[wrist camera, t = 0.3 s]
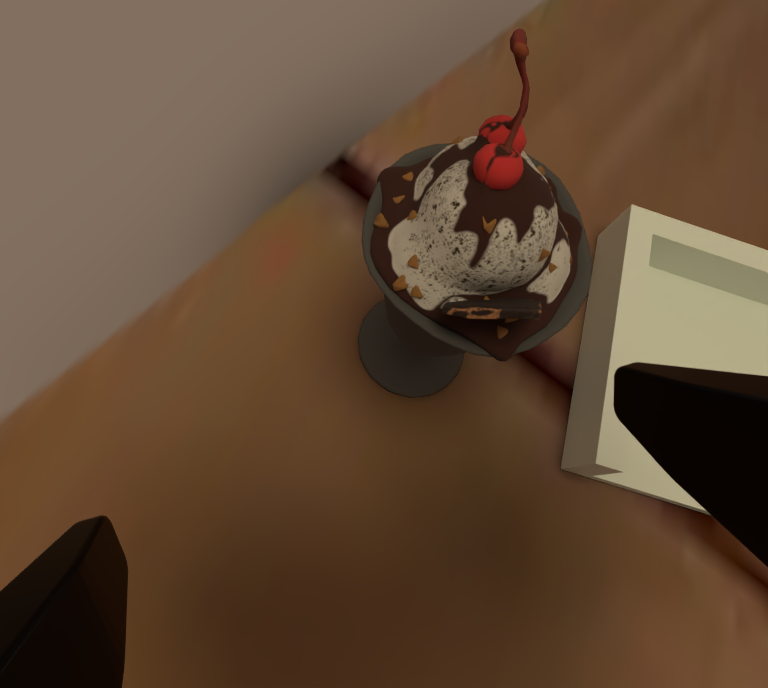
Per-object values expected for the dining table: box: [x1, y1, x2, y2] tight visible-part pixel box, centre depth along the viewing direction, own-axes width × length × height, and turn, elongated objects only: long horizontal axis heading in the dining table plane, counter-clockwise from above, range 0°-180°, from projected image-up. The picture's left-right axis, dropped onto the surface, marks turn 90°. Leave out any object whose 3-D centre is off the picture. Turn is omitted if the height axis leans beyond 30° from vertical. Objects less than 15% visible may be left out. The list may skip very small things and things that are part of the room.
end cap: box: [560, 205, 768, 515], centre depth 25 cm, size 12×12×3 cm
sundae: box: [358, 29, 592, 397], centre depth 17 cm, size 7×7×15 cm
